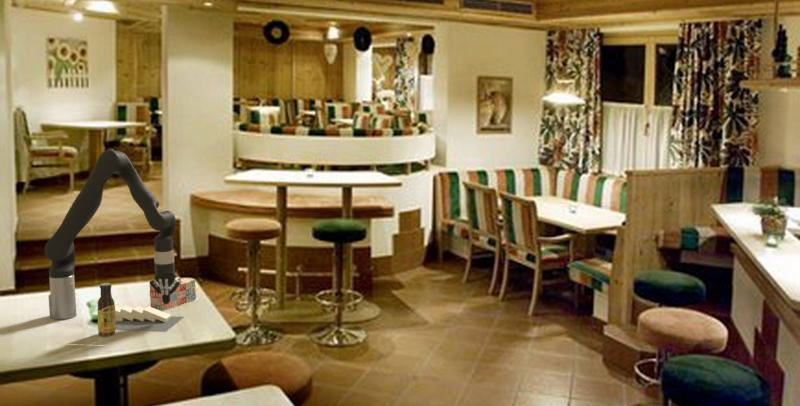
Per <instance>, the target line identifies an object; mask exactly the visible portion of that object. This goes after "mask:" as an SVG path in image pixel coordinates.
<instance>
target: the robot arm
mask: <svg viewBox="0 0 800 406" xmlns="http://www.w3.org/2000/svg"><path fill="white" fill-rule="evenodd" d="M113 174H115V175H118V176H119V177H120V178H121V179H122V181H124V183H125V184H126V185H127V187H128V189H129V193H130V195H131V198H132V199H133V201H134V202H135V203H136V205H137V206H138V207H139V208H140V209H141V210H142V212H143V214H144V218H145V219H146V221H147V223H148V225H149V227H150V228H152V229H153V230H155V231H156V232H158V231H159V233H158V235H156V236H155V238H154V244H153V245H154V258H153V259H154V272H155V276H154V278H153V279H151V280H150V281H149V282H148V283H149V285H150V284H151V286H152V287H153V288H154V289H155V291H156V292H157V293H160V294H162V302H163V303H164V304H168V303H169V302H170V301H171V300H170V294H172V293H174V292H175V291H176V289H177V288H178V287H179V285H180V284H181V282H182V281H181V280H180V281H179V280H178V279H176V277H177V276H176V274H175V273H176V270H175V269H176V268H175V267H176V266H175V253H174V240H173V239H174V236H175V232H176V227H177V219H176V216H175V214H174V213H173V212H172V211H170V210H163V211H159V210H158V208H159V207H160V202H159V200H158V199H157V197H156V196H155V195H154V194H153V192H152V191H151V190H150V188H148V186H147V185H146V184H145V183H144V181H143V180H142V178H141V177H140V175H139V174H138V172H137V170H136V168H135V166H134V165H133V164H132V162H131V160H130V158H129V156H128V155H127V154H126V153H125V152H122V151H120V150H114V149H107V150H104V151H103V152H102V153H101V154H100V155H99V157H98V158H97V160H96V162H95V164H94V167H93V168H92V171H91V173H90V174H89V177H88V178H87V180H86V182H85V183H84V184H83V186H82V188H81V190H80V192H79V193H78V195H76V197H75V199H74V200H73V202H72V204H71V206H70V208H69V209H68V211H67V212H66V214H65V216H64V218H63V220H62V222H61V224H60V226H59V227H58V229H57V230H55V232H54V234H52V236H51V237H50V239H49V240H48V241H47V242H46V244H45V246H44V255H45V257H46V258H47V259H48V260H49V261H50V262H51V263H50V268H49V270H48V274H49V276H48V277H49V279H48V280H49V290H50V294H48V307H49V308H48V309H49V318H50V319H53V320H68V319H72V318H74V317H76V316H77V300H76V299H77V298H76V286H75V285H76V284H75V267H76V253H75V252H76V251H75V249H76V247H75V245H74V241H75V239H76V237H77V236H78V235H79V233H80V232H81V231H82V230H83V229H84V228H85V227H86V226H87V224H88V223H89V222H90V221H91V220H92V219H93V217H94V215H96V213H97V211H98V209H99V208H100V206H101V203H102V200H103V195H104V188H105V185H106V184H107V182H108V181H109V179H110V178H111V176H112V175H113ZM174 281H175V282H174ZM173 282H174V284H175V285H174V287H173V288H172V289H171V285H172V284H173ZM157 283H158V284H159V285H160V287H159V285H158V284H157Z"/></svg>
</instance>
